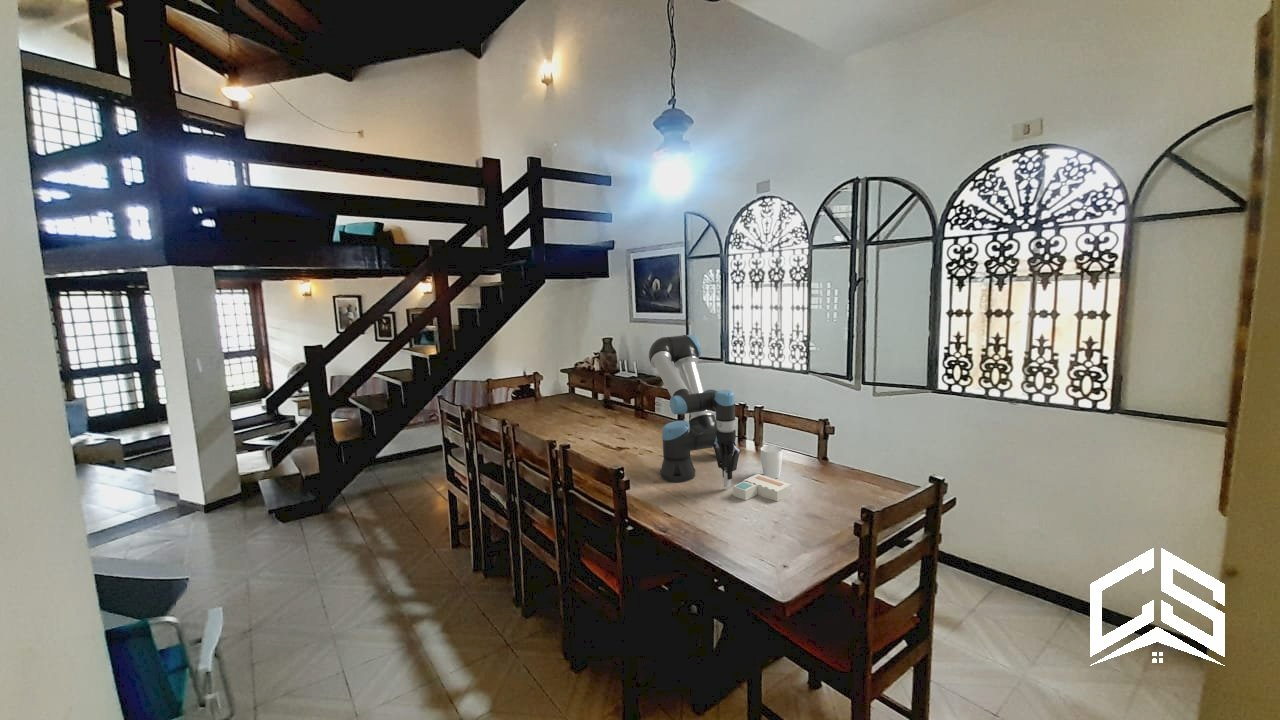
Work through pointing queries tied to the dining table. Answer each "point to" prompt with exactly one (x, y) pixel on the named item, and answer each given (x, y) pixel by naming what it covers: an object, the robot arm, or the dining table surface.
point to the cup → (771, 461)
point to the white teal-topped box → (745, 490)
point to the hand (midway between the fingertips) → (727, 486)
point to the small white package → (770, 487)
